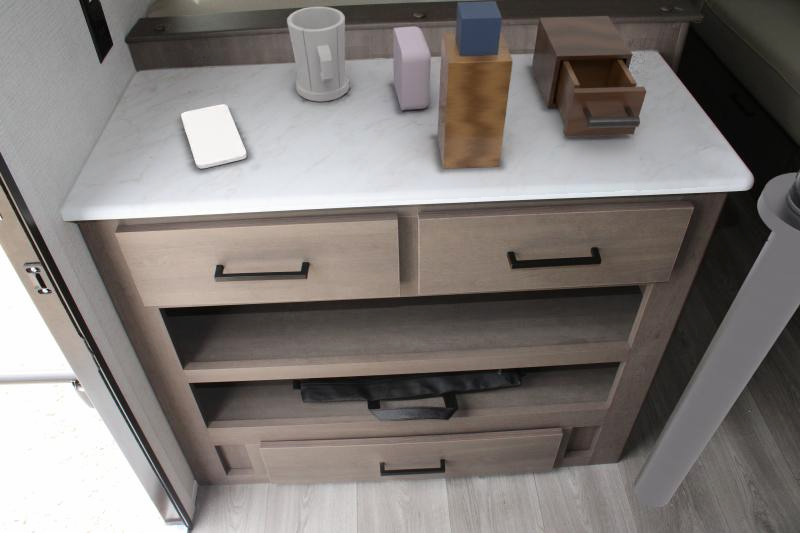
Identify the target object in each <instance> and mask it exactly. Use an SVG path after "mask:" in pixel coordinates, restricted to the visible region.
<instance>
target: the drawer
mask: <svg viewBox="0 0 800 533" xmlns="http://www.w3.org/2000/svg"><path fill="white" fill-rule="evenodd" d="M637 84H638V82H636V79H635V78H634V76H633V74H632V73H631V71H630V70H629V69H628V68H627V67H626V65H625V63H624V62H623V60H622V59H585V60H561V61H560V67H559V72H558V78H557V83H556V88H555V94H554V98H555V100H556V103H557V105H558V108H557V109H558V110H559V112H560V116H561V117H562V120H563V122H564V128H563V134H564V137H594V136H595V137H598V136H631V135H635V131H636V128H637V127H638V128H639V126H640V124H641V117H640V114H641V111H642V108H643V104H644V102H645V97H646V94H647V89H646V87H645V86H637Z"/></svg>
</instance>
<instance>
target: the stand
mask: <svg viewBox="0 0 800 533" xmlns="http://www.w3.org/2000/svg"><path fill="white" fill-rule="evenodd" d="M455 36H456V33H442V34H441V46H440V67H439V68H440V70H439V92H438V93H439V94H438V116H437V117H438V118H437V142H438V147H439V152H440V157H441V158H440V159H441V164H442V169H467V168H469V169H470V168H492V167H493V168H495V167H500V164H501V155H502V149H503V148H502V146H503V141H504V140H503V139H504V133H505V126H506V125H505V124H506V117H507V110H508V103H509V102H508V101H509V94H510V92H509V91H510V87H511V86H510V85H511V77H512V69H513V62H514V61H513V57H512V55H511V53H510V50H509V47H508V45H507V42H506V40H505V37H504V35H503V32H501V31H500V40H499V49H498V55H479V56H460V54H459V51H458V47H457V43H456V39H455Z"/></svg>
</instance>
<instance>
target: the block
mask: <svg viewBox="0 0 800 533" xmlns="http://www.w3.org/2000/svg"><path fill="white" fill-rule="evenodd" d="M456 4H457V5H456V20H455V21H456V22H455V34H456V36H455V39H456V43H457V47H458V51H459V54H460V56H479V55H498V49H499V40H500V32H501V29H502V21H503V16H502V14H501V12H500V9H499V7H498V4H497V1H496V0H489V1H487V0H485V1H457V3H456Z"/></svg>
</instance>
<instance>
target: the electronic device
mask: <svg viewBox="0 0 800 533" xmlns="http://www.w3.org/2000/svg"><path fill="white" fill-rule="evenodd" d="M392 40H393V41H392V42H393V43H392V47H393V48H392V54H393V55H392V56H393V57H392V58H393V61H392V62H393V84H394V85H393V86H394V89H395V92H396V96H397V99H398V102H399V106H400V111H413V110H423V109H426V108H427V107H428V106H429V104H430V100H431V98H430V96H431V69H432V68H431V65H432V55H431V51H430V49H429V46H428V43H427V41H426V38H425V35H424V33H423V31H422V29H421V28H420V27H418V26H416V25H415V26H402V27H393V29H392Z"/></svg>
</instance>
